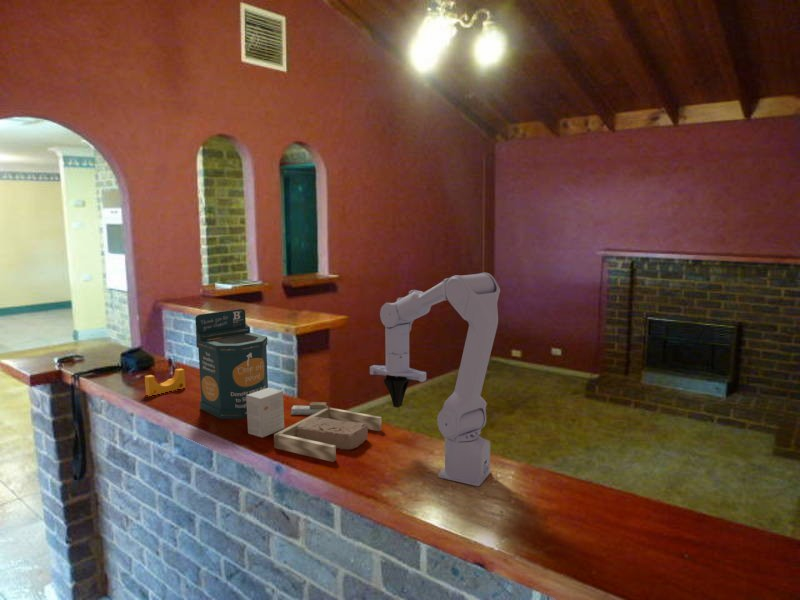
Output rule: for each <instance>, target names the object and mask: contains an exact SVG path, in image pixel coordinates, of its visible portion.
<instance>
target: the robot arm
mask: <svg viewBox="0 0 800 600" xmlns="http://www.w3.org/2000/svg"><path fill="white" fill-rule="evenodd" d="M500 292H501V288H500V286H499V284H498V283H497V281H496V279H495V277H494V276H493V275H492V274H490V273H488V272H480V273H475V274H466V275H465V274H464V275H463V274H462V275H458V274H457V275H456V274H455V275H453V276H450V277H447V278H444V279H443V280H442V281H441V282H439V283H438V284H436V285H434V286H433V287H431V288H429V289H428V290H425V291H421V290H417V289H411V290H410V291H409V290H408V294H407V295H406V296H404V297H403V296H402V297H401V296H400V297H398V298H397V299H396V301H395V302H385V303H384V304H383V305H382V306H381V307H380V311H379V317H380V321H381V323H382V325H383V326H384V327H385V329H384V331H385V333H384V334H385V335H384V336H385V337H384V338H385V365H379V364H378V365H377V364H373V365H371V366H369V375H379V376H384V377H385V378H384V379H383V383H384V385H385V386H386V388H387V390H388V392H389V395H390V397H391V402H392V406H393V407H394V408H398V409H399V408H400V407H402V406H403V401H404V397H405V394H406V391H407V390H408V389H407V388H408V387H409V385H410V382H411V381H412V380H413V381H419V382H421V383H424V382H426V381H427V372H426V371H421V370H417V369H415V368H411V367H410V332H411V331H412V325H413V323H414V321H415V320H416V319H419V318H421V317H423V316H425V315H427V314H428V313H430V311H431V308H432V306H434V305H436V304H439V303H442V302H443V301H448V302H449V304H450V305H451V306H452V307H453V309H454V310H455V311H456V312H457V313H458V315H460V317H461V318H462V320H464V321H466V322H467V323H468V329H467V333H466V337H465V341H464V342H465V343H464V346H463V350H462V351H463V352H462V357H461V360H460V365H459V369H458V374H457V378H456V383H455V387H454V391H453V393H452V394H451V395H449V397H447V399H446V400H445V401H444V403H443V406H442V408H441V409H440V411H439V413H438V414H437V418H436V422H437V428H438V430H439V432H440V433H441V435H442V437H444V468H443V469H442V470H440V472H439V473H438V474H437V478H440V479H444V480H449V481H452V482H458V483H462V484H466V485H471V486H474V487H479V486H481V484H483V482H484V481H485V480H486V478H488V476H489V475H490V474H491V473H492V470H491V442H490V440H489V439H486V438H484V437H482V436H481V433H482V429H483V428H484V427H485V426H486V424H487V411H486V409H487V405H488V403H487V402H486V400H485V399H484V398H483V397H482V396H481V394H482V391H483V386H484V384H485V383H484V382H485V379H486V375H487V370H488V366H489V363H490V362H489V361H490V358H491V354H492V353H491V352H492V349H493V346H494V342H495V338H496V333H497V330H498V325H499V312H498V301H499V297H500Z"/></svg>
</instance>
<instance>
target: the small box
mask: <svg viewBox="0 0 800 600" xmlns="http://www.w3.org/2000/svg"><path fill="white" fill-rule="evenodd" d="M246 402H247V417H246V419H247V420H246V422H247V433H248V434H249V435H253V436H255V437H258V438H265V437H268V436H270V435H272V434H275V433H278V432H280V431H282V430H283V429H285V413H284V412H285V411H284V409H285V407H284V391H283V390H280V389H277V388H272V387H268V388H266V389H263V390H260V391H257V392H254V393H251V394H248V395H246Z"/></svg>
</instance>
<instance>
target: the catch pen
mask: <svg viewBox="0 0 800 600" xmlns="http://www.w3.org/2000/svg"><path fill="white" fill-rule="evenodd" d="M312 417H319V418H320V417H322V418H329V419H334V420H339V421H344V422H358V423H363V424H367V427H368V430H371V431H377V432H381V431H382V427H383V426H382V425H383V424H382V416H378V415H373V414H367V413H361V412H356V411H350V410H347V409H346V410H345V409H340V408H336V407H335V408H334V407H329V406H328V407H327V408H325V409H323V410H321V411H319V412H317V413H315V414H313V415H308V416H307V417H306V418H303V419H301V420H299V421H297V422H296V423H294V424H292V425H289V426H288V427H284V429H281V430H279V431H277V432H275V433H273V444H274V446H273V447H274V449H277V450H280V451H281V450H282V451H285V452H288V453H289V452H290V453H294V454H298V455H301V456H307V457H310V458H315V459H317V460H323V461H327V462H331V463H333V462H335V461H336V460H337V454H336V453H337V451H336V450H337V448H336V446H335V445H330V444H326V443H321V442H317V441H312V440H308V439H303V438H299V437H297V426H298V425H300V424H301V423H303V422H304V421H306V420H307V419H309V418H312Z"/></svg>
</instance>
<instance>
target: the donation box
mask: <svg viewBox="0 0 800 600" xmlns="http://www.w3.org/2000/svg"><path fill="white" fill-rule="evenodd" d="M246 320H247V319H246V310H245V309H244V308H237V309H232V310H230V309H229V310H224V311H223V310H222V311H216V312H208V313H201V314H197V315H196V316H195V320H194V321H195V336H196V339H195V340H196V341H195V342H196V348H197V349H198V365H199V367H198V368H199V382H200V399H201V400H200V401H199V409H200V410H201V409H202V411H203V410H204V412H205V413H208V414H209V415H212V416H214V417H215V418H218V419H220V420H226V419H227V420H230V419H233V420H234V419H237V420H240V419H245V418H246V419H247V402H246V395H248V394H251V393H254V392H257V391H260V390H263V389H266V388H269V380H268V379H269V378H268V377H269V376H268V352H267V349H268V348H267V346H268V345H269V344H268V336H267V335H262V334H258V333H254V332H251V326H249V325H248V324H247V323H246Z"/></svg>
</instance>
